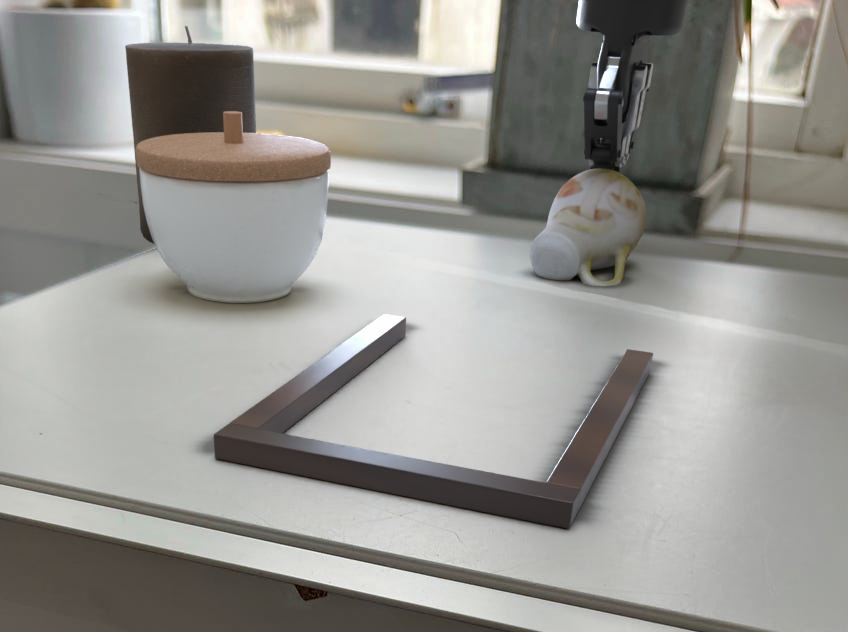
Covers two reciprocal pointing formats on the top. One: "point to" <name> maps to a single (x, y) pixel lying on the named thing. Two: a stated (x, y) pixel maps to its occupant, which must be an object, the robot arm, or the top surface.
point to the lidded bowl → (235, 208)
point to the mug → (590, 228)
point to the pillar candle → (187, 91)
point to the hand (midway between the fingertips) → (599, 217)
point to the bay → (468, 488)
